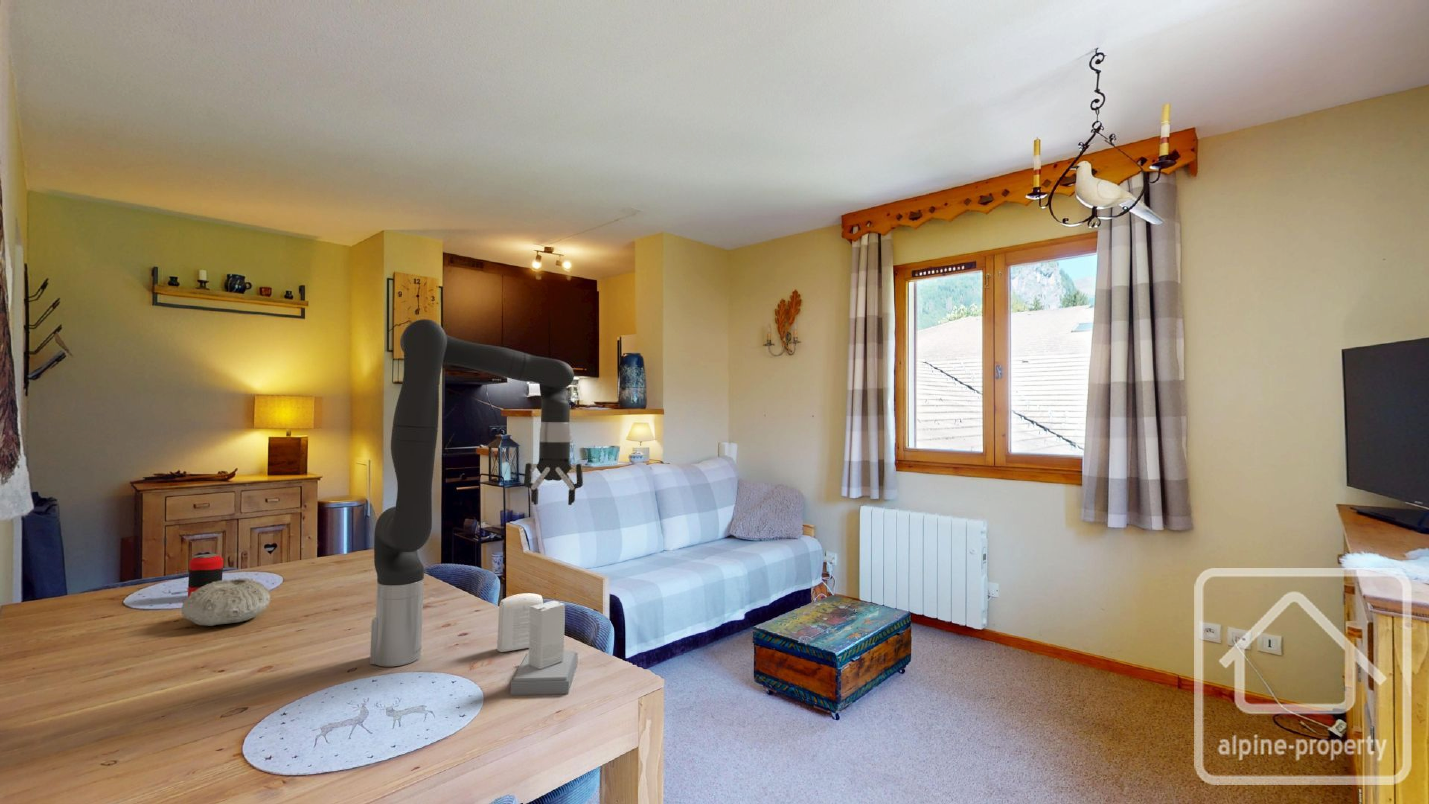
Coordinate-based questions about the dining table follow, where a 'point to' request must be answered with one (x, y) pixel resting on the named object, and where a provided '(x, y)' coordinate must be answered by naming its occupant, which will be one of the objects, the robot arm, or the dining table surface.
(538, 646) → the skincare box
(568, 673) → the slate stand
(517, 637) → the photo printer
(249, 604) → the decorative shell
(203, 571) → the soda can
